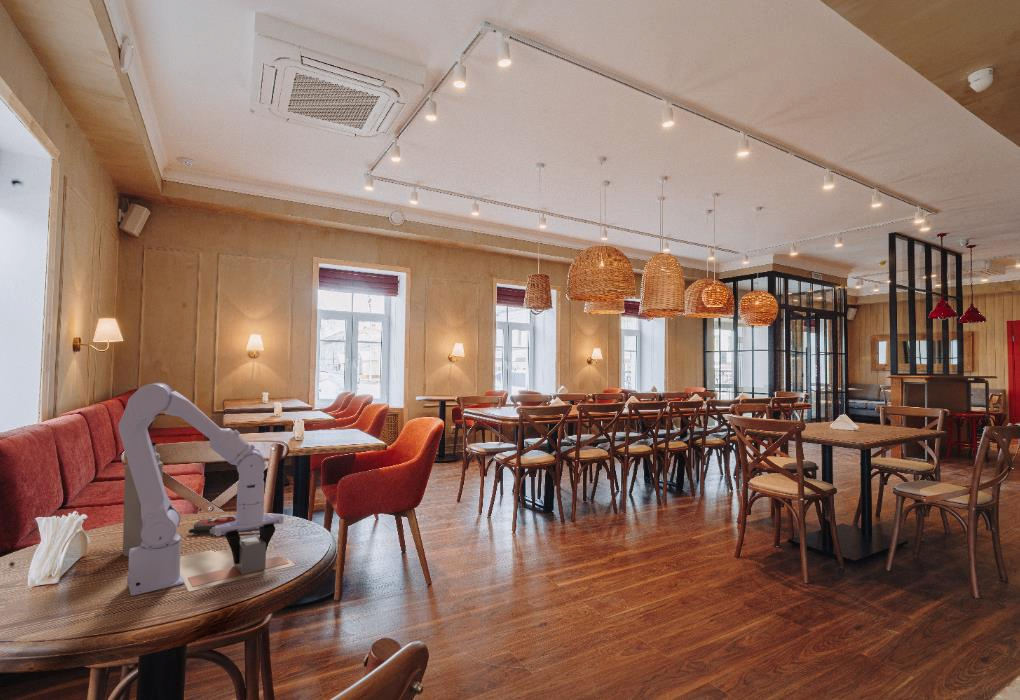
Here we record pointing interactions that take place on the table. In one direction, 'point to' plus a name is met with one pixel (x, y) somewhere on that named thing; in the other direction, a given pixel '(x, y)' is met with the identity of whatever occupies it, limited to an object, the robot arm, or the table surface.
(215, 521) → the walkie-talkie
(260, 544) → the block
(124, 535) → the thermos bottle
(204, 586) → the subfloor panel
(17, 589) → the table surface
